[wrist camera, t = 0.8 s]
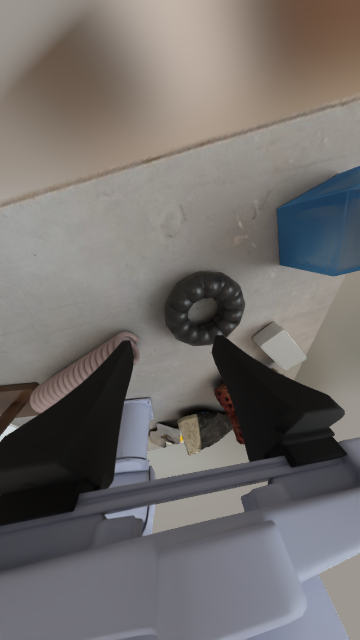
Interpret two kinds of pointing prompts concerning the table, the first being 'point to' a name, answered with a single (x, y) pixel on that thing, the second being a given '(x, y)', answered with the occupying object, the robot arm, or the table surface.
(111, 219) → the table surface
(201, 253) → the table surface
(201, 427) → the mineral specimen
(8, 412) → the peg rack
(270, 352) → the multiport hub
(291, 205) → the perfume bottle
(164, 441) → the diorama
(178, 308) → the ribbed ring
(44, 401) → the coil
